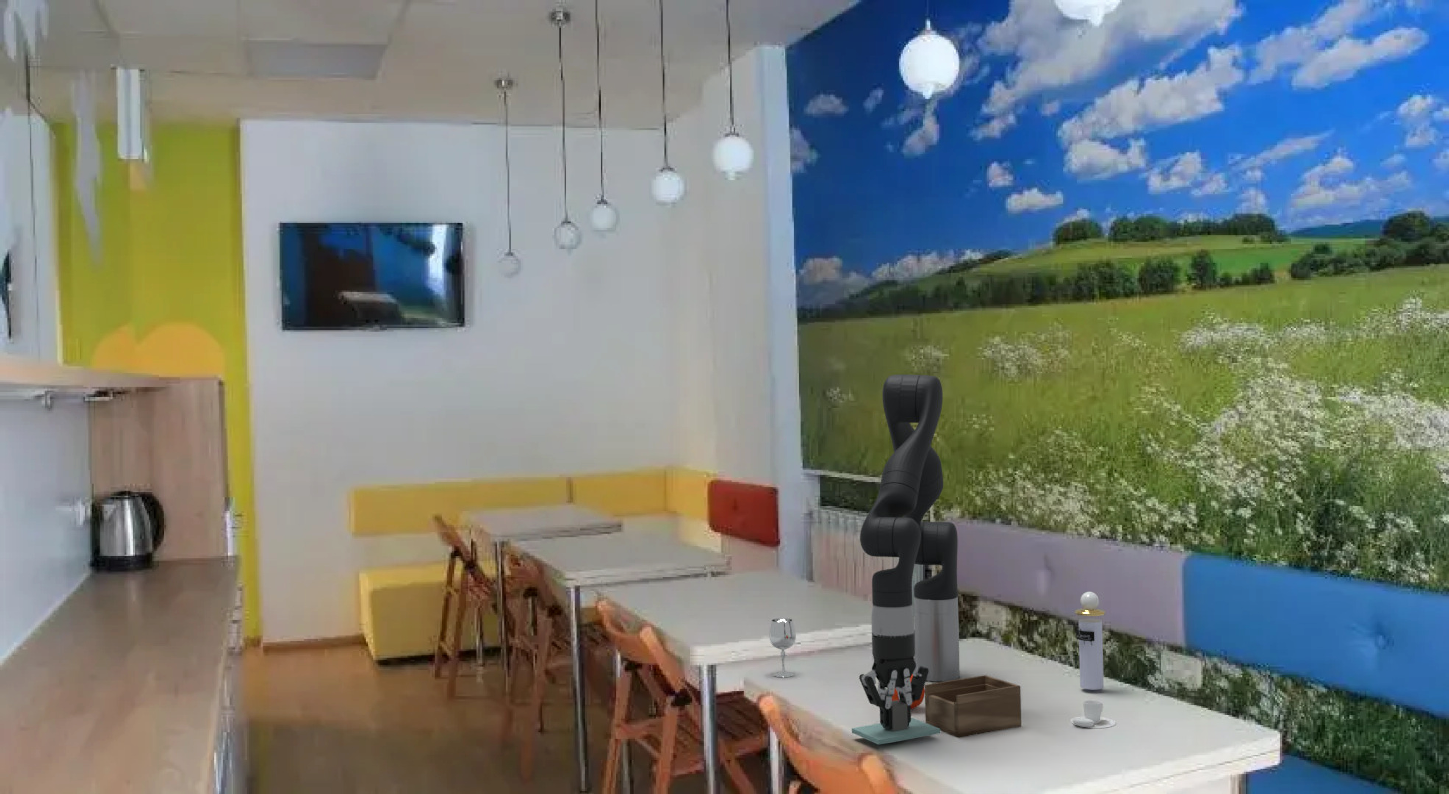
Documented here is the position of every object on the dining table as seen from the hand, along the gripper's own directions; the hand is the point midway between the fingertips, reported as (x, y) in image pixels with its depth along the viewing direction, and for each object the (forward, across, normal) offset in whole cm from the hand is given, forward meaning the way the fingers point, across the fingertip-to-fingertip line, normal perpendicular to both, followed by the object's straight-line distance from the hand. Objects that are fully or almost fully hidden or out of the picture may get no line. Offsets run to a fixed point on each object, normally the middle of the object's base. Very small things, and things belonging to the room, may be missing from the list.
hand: (895, 726), depth 217 cm
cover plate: (+1, 0, 0) cm, 1 cm away
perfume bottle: (+3, -53, -8) cm, 54 cm away
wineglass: (+3, -7, -54) cm, 54 cm away
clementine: (+3, -13, -16) cm, 21 cm away
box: (+2, -17, 0) cm, 17 cm away
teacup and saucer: (+3, -35, +8) cm, 36 cm away
